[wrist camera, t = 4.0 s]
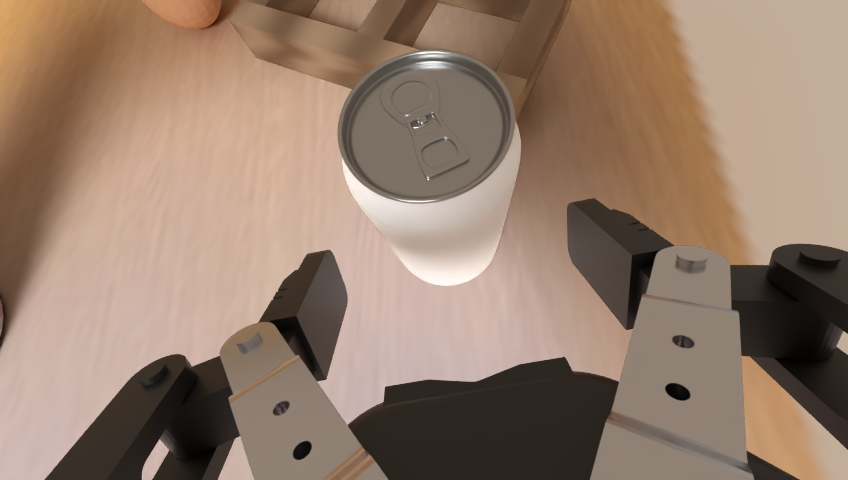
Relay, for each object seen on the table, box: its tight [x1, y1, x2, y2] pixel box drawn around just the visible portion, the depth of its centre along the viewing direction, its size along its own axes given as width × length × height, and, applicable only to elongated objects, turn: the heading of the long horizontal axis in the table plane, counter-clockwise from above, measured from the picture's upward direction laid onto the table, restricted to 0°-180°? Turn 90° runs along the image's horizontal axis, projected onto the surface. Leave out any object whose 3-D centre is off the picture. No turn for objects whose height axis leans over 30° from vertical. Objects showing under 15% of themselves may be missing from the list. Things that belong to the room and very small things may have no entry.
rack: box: [229, 0, 571, 123], centre depth 26 cm, size 22×12×4 cm, turn 64°
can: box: [338, 50, 521, 286], centre depth 17 cm, size 6×6×12 cm
